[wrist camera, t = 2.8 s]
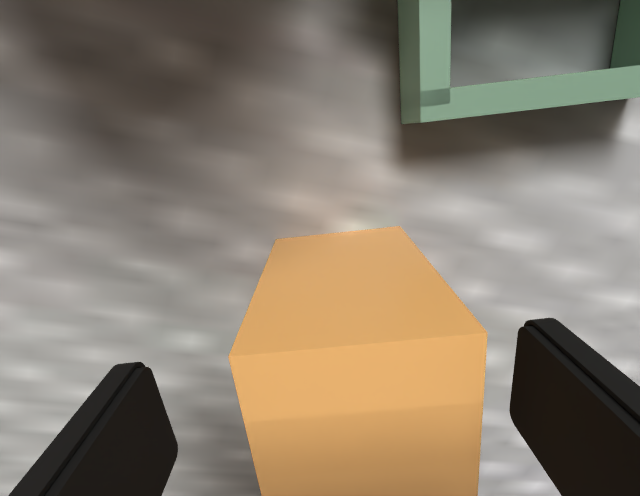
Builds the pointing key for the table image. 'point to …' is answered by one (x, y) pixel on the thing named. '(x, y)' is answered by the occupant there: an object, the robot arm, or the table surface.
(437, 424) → the orange rectangular block
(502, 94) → the green drawer box
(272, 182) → the table surface
